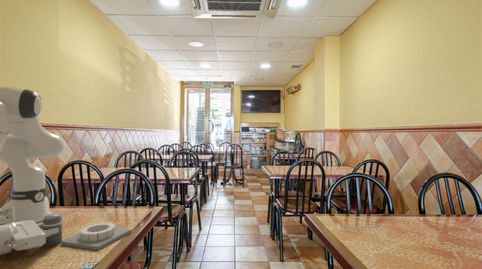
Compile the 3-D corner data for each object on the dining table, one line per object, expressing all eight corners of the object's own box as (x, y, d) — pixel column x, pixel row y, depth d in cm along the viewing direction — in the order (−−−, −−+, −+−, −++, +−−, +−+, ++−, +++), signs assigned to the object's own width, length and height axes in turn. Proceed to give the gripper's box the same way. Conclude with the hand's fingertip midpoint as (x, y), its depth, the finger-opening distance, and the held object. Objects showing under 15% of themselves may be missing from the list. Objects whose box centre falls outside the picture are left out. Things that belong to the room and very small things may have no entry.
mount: (61, 244, 90) (61, 234, 90) (98, 228, 105) (98, 219, 105) (97, 250, 85) (97, 239, 85) (131, 232, 101) (131, 222, 100)
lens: (39, 245, 89) (38, 217, 89) (54, 239, 94) (54, 212, 94) (50, 247, 88) (50, 218, 87) (66, 241, 93) (65, 213, 93)
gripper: (7, 238, 74) (63, 225, 85) (-1, 222, 88) (48, 212, 98) (7, 260, 74) (64, 244, 85) (-1, 240, 88) (48, 229, 98)
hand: (55, 227), depth 92 cm, fingers closed on lens, 5 cm apart
